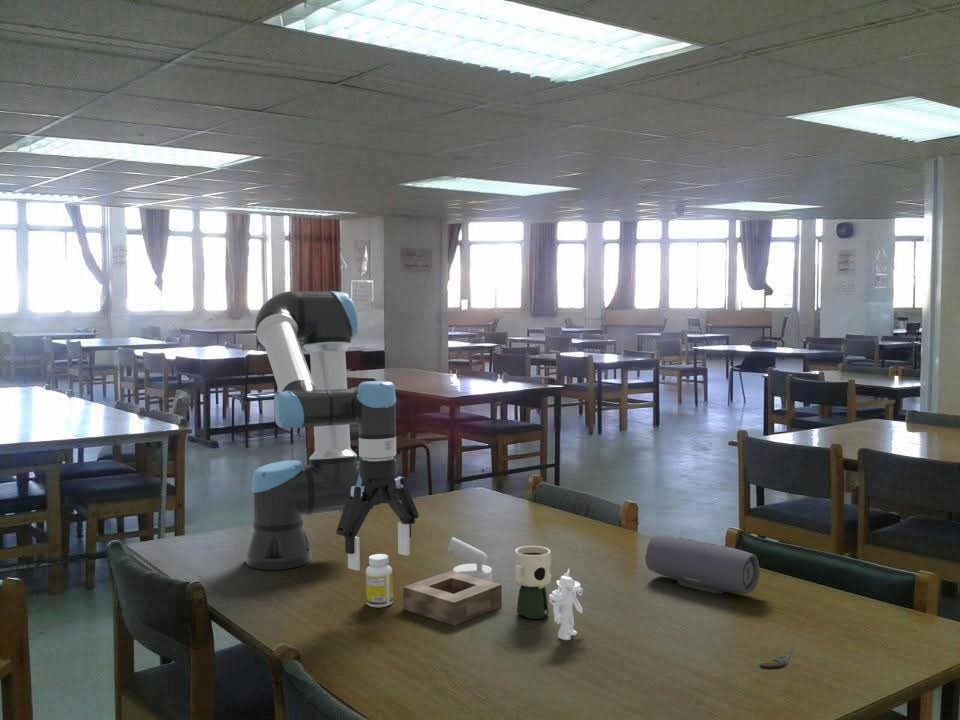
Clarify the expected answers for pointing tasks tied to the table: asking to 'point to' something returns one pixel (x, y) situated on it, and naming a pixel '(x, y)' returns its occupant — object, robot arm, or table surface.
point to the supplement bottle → (379, 581)
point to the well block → (452, 597)
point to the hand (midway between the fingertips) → (379, 561)
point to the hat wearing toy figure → (566, 605)
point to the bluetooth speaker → (703, 564)
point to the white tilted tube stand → (474, 556)
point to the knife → (776, 665)
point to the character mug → (532, 580)
